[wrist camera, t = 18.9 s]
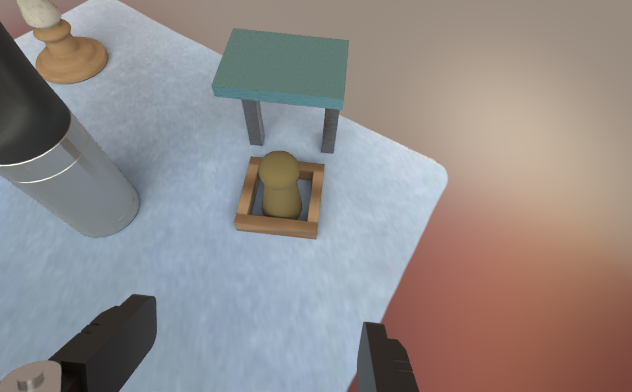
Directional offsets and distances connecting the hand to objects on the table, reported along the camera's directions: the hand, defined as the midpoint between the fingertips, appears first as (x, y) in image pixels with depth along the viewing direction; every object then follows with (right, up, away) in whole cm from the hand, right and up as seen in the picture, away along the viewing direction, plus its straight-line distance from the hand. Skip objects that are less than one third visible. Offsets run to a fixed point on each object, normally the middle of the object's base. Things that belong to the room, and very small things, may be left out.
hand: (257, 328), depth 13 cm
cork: (-3, +3, +38) cm, 38 cm away
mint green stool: (-2, +10, +42) cm, 43 cm away
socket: (-3, +4, +38) cm, 38 cm away
